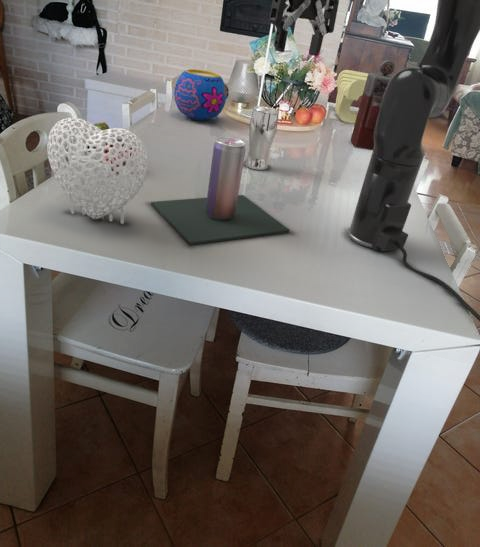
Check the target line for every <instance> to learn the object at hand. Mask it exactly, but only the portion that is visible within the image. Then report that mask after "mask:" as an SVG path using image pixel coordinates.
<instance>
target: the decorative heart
mask: <svg viewBox="0 0 480 547" xmlns="http://www.w3.org/2000/svg"><path fill="white" fill-rule="evenodd" d="M115 131H116V132H115ZM77 134H78V135H77ZM117 134H119V135H117ZM65 137H66V138H65ZM107 138H108V139H107ZM117 139H122V142H118V141H117ZM60 140H61V142H60ZM74 140H76V141H77V142H75V141H74ZM81 140H83V141H84V142H82V141H81ZM106 143H108V145H107V146H106ZM46 144H47V145H46V151H47V152H46V153H47V157H48V162H49V166H50V168H51V171H52V173H53V175H54V177H55V180H56V182H57V183H58V185H59V186H60V187H61V190H62V191H63V192H64V193H65V195H66V196H67V197H68V198H69V200H70V214H73V215H74V214H75V205H76V206H77V207H78V208H79V209H80V211H81V215H82V216H85V215H87V216H88V217H90V218H91V219H94V220H99V219H102V220H104V217H106V216H108V221H109V222H113V214H112V213H114V212H116V211H118V210H120V224H122V225H124V223H125V210H124V208H123V207H125V206H126V205H127V204H128V203H130V202H131V201H132V200H133V199H134V198H135V197H136V196H137V195H138V194H139V192H140V190H141V188H143V185H144V183H145V181H146V179H147V175H148V170H149V155H148V152H147V148H146V146H145V145H144V143H143V142H142V140H141V139H140V138H139V137H138V135H136V134H135V133H133V131H131V130H128V129H125V128H122V127H121V128H120V127H112V128H110V129H107V130H104V131H102V130H101V129H99V128H98V127H96V126H95V125H94V124H93V123H92V122H89V121H87V120H85V119H83V118H79V117H68V118H62V119H60V120H58V121H57V122H56V123H55V124H54V125H53V126H52V127H51V129H50V130H49V134H48V137H47V142H46ZM122 144H124V146H123V147H122ZM110 145H113V147H110ZM115 145H116V146H115ZM80 147H82V148H83V149H81V148H80ZM88 147H89V148H88ZM129 147H130V148H131V147H132V150H129V149H130V148H129ZM105 149H106V150H109V152H108V153H107V154H105V153H104V151H105ZM126 150H127V153H126V152H125V151H126ZM135 150H136V152H135ZM115 151H116V152H115ZM119 152H121V153H120V154H118V153H119ZM84 153H85V154H86V156H85V155H84ZM130 153H132V154H131V155H133V157H132V156H131V157H130ZM122 155H124V156H123V157H122ZM97 156H98V157H99V158H97ZM125 156H126V158H125ZM118 157H119V158H120V159H119V158H118ZM106 158H107V159H109V160H108V161H106ZM114 158H115V159H116V161H115V160H114ZM111 161H112V163H113V164H111ZM125 161H126V163H125V164H124V165H123V162H125ZM117 164H118V165H119V167H116V165H117ZM111 168H113V170H114V171H113V170H112V169H111ZM117 173H118V175H117ZM91 179H92V180H93V181H94V184H92V182H91ZM105 181H106V182H105ZM98 191H99V192H98ZM83 201H85V203H84V202H83ZM100 202H101V203H100Z"/></svg>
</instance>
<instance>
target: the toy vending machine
mask: <svg viewBox="0 0 480 547" xmlns="http://www.w3.org/2000/svg"><path fill="white" fill-rule="evenodd" d="M379 71H380V73H379V72H378V73H377V72H369V73H368V77H367V80H366V84H365V88H364V91H363V95H362V96H361V99H360V103H359V107H358V111H357V117H356V121H355V123H354V124H353V128H352V132H351V136H350V140H349V141H350V143H351V144H352V146H353V147H354V148H357V149H364V150H370V151H373V149H374V131H375V126H376V122H377V118H378V114H379V110H380V106H381V102H382V99H383V95H384V92H385V90H386V87H387V85H388V83H389V82H390V80H391V79H392V77H393V76H394V75H391V74H393V73H394V71H395V64H394V62H392V60H387V59H386V60H384V61H382V62H381V63H380V65H379Z"/></svg>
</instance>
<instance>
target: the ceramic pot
mask: <svg viewBox="0 0 480 547" xmlns="http://www.w3.org/2000/svg"><path fill="white" fill-rule="evenodd" d="M229 95H230V89H229V87H228V86H227V85H226V84H225V82H224V80H223V78H222V77H221V75H220V74H218V73H215V72H213V71H208V70H203V69H196V68H195V69H192V68H191V69H185V70H183V72H182V73H181V74H180V75H179V77H178V78H177V80H176V82H175V86H174V92H173V96H174V102H175V104H176V107H177V110H178V111H179V112H180V113H181V114H182V115H183V116H185V117H187V118H189V119H190V120H193V121H203V122H204V121H209V120H212V119H214V118H217V117H219V115H220V114H221V112H222V111H223V110H224V107H225V106H226V101H227V99H228V98H229Z"/></svg>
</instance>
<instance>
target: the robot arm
mask: <svg viewBox="0 0 480 547" xmlns="http://www.w3.org/2000/svg"><path fill="white" fill-rule="evenodd" d="M287 2H288V5H287V6H286V4H287ZM339 3H340V0H272V1H271V7H270V12H269V16H268V23H269V24H271V25H273V26H274V27H275V29H276V30H275V36H274V41H273V47H274V50H275V51H276V52H279V53H284V52H285V50H286V45H287V38H288V33H289V30H288V29H289V28H290V27H291V26H292V24H293V23H295V22H296V21H297V20H298V19H302V20H308V22H309V23H310V25H311V28H312V31H313V33H311V34H312V35H311V39H310V44H309V49H308V55H310V56H312V57H313V56H314V57H317V56H319V54H320V53H321V49H322V45H323V41H324V36H326V35H327V34H332V33H334V32H335V31H334V30H335V26H336V19H337V15H338V8H339ZM436 5H437V7H436V13H435V14H436V15H435V21H434V24H433V25H434V26H433V30H432V33H431V36H430V38H429V41H428V44H427V46H426V48H425V50H424V52H423V53H422V54H423V55H422V57H421V58H420V60H419V62H418V64H417V65H416V66H410V67H409V66H408V67H405V68H402V69H400V70H399V71H397V72H396V73H395V74H393V75H392V76H393V77H392V79H391V80H390V82H389V83H388V85H387V87H386V90H385V92H384V95H383V99H382V102H381V106H380V110H379V114H378V118H377V122H376V126H375V131H374V149H373V150H372V153H371V156H370V159H369V163H368V166H367V169H366V172H365V176H364V179H363V183H362V186H361V189H360V193H359V196H358V199H357V203H356V206H355V209H354V213H353V215H352V219H351V223H350V227H349V228H348V231H347V236H348V237H349V239H351V240H352V241H353V242H355V243H357V244H358V245H360V246H363V247H366V248H369V249H372V250H373V251H375V252H378V251H383V252H389V251H392V250H393V251H394V250H400V251H401V253H402V258H401V261H402V262H401V263H402V264H403V266H405V268H406V269H408V270H410V271H412V272H414V273H416V274H417V275H420V276H422V277H424V278H425V279H429V280H431V281H433V282H436V283H437V284H439V285H441V287H443V288H444V289H445V290H447V291H448V292H449V293H450V294H451V295H452V296H453V297H454V298H455V299H456V300H457V301H458V302H459V303H460V304H461V305H462V306H463V307H464V308H465V310H467V311H468V312H469V313H470V314H471V315H472V316H474V318H476V320H477V321H478V322H480V314H479V313H478V312H477V311H476V310H475V309H474V308H473V307H471V306H470V305H469V304H468V303H467V302H466V301H465V299H463V297H461V296H460V294H459V293H457V291H455V290H454V289H453V287H451V286H450V285H448V284H447V283H446V282H445V281H443V280H441V279H440V278H438V277H436V276H434V275H432V274H430V273H426V272H424V271H420V270H418V269H416V268H414V267H412V265H410V264H409V263H408V261H407V258H408V253H407V251H406V249H405V245H406V242H407V239H408V237H409V234H408V233H407V232H405V231H403V230H404V227H405V224H406V222H407V219H408V217H409V213H410V211H411V209H412V204H411V203H410V202H409V200H410V198H411V194H412V192H413V189H414V186H415V183H416V180H417V178H418V175H419V171H420V168H421V166H422V164H423V160H424V158H425V155H426V149H425V147H424V146H423V138H424V134H425V131H426V128H427V125H428V122H429V121H432V120H434V119H436V118H438V117H439V116H440V115H441V114H443V113H444V112H445V110H446V109H447V108H448V106H449V104H450V102H451V100H452V99H453V98H452V97H453V95H454V93H455V90H456V87H457V85H458V81H459V79H460V77H461V74H462V71H463V68H464V66H465V63H466V61H467V59H468V56H469V54H470V51H471V49H472V47H473V45H474V42H475V40H476V39H477V36H478V35H479V33H480V0H437V4H436ZM323 9H324V10H323Z"/></svg>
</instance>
